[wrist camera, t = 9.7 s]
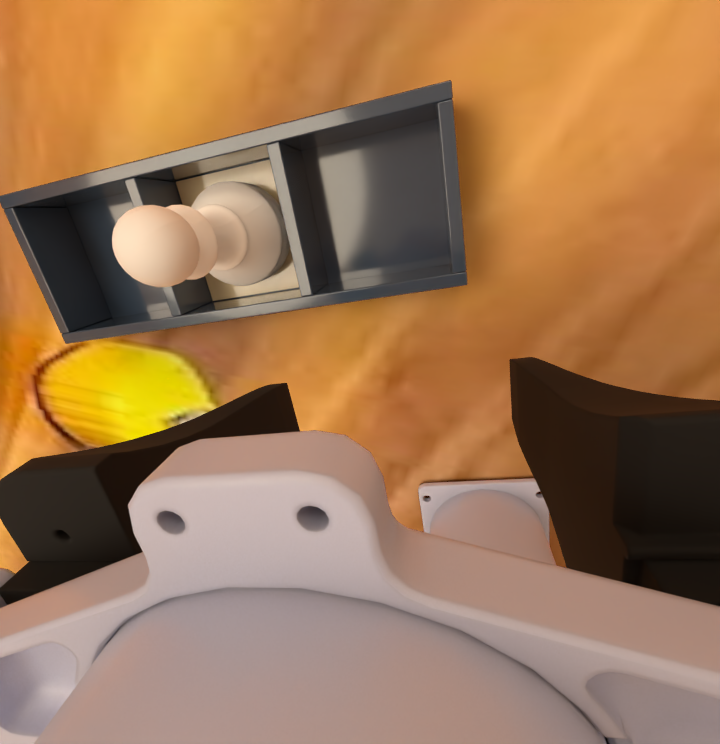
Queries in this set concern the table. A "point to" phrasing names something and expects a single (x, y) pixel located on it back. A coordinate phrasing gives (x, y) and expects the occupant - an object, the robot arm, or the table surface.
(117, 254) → the chess pawn
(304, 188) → the divided storage box
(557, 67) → the table surface
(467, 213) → the table surface
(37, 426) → the table surface
